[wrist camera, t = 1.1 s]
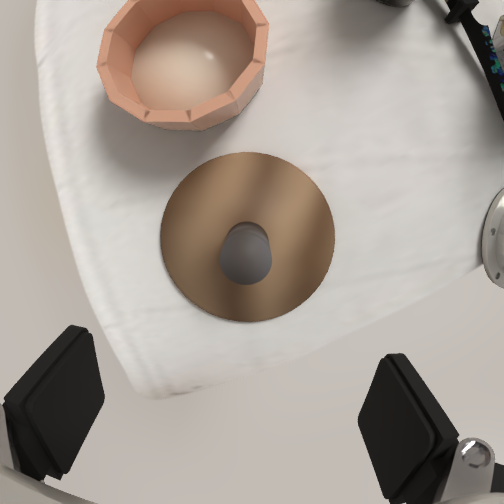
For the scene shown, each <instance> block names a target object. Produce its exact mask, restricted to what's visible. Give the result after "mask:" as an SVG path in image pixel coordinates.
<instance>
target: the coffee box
mask: <svg viewBox="0 0 504 504" xmlns="http://www.w3.org/2000/svg"><path fill="white" fill-rule="evenodd" d="M492 42H493V45H494V48H495V51H496V55H497V57H498V60H499V62H500V65H501V67H502V70H503V71H504V15H502V16H501V17H500V20H499V23H498V26H497V29H496V32H495V34H494V37H493V40H492Z"/></svg>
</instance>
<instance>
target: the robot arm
mask: <svg viewBox="0 0 504 504" xmlns="http://www.w3.org/2000/svg"><path fill="white" fill-rule="evenodd" d="M482 258H483V264H484V268H485V271H486V273H487V275H488V277H489V278H490V280H491V281H492V282H493V283H495V284H496V285H498V286H499V287H502V288H504V188H503V190H502V191H501V192H500V193H499V194H498V195H497V197H496V198H495V200H494V201H493V203H492V205H491V207H490V210H489V212H488V215H487V218H486V221H485V226H484V230H483V238H482ZM104 399H105V395H104V390H103V386H102V381H101V377H100V372H99V367H98V362H97V357H96V352H95V347H94V341H93V336H92V334H91V333H89V332H88V330H87V329H86V328H83V327H79V326H74V325H70V326H68V327H67V328H66V330H65V331H64V332H63V333H62V334H61V335H60V336H59V337H58V338H57V339H56V340H55V341H54V342H53V343H52V344H51V345H50V346H49V347H48V348H47V349H46V351H45V352H44V353H43V354H42V355H41V356H40V357H39V358H38V359H37V360H36V361H35V363H34V364H33V365H32V366H31V367H30V368H29V369H28V371H26V373H25V374H24V375H23V376H22V377H21V378H20V379H19V381H18V382H17V383H16V384H15V385H14V386H13V387H12V389H11V390H10V391H9V392H8V393H7V394H6V396H5V397H4V400H5V402H4V403H3V405H1V404H0V504H97V503H94V502H91V501H88V500H85V499H82V498H79V497H77V496H74V495H71V494H68V493H66V492H63V491H61V490H58V489H55V488H53V487H51V486H48V485H46V484H45V482H44V478H45V476H46V475H49V476H51V477H53V478H56V479H58V480H61V478H62V476H63V474H67V473H68V472H69V471H70V469H71V466H72V464H73V462H74V460H75V458H76V456H77V454H78V452H79V450H80V448H81V446H82V444H83V442H84V440H85V438H86V436H87V434H88V432H89V430H90V428H91V426H92V424H93V423H94V421H95V419H96V417H97V415H98V413H99V411H100V409H101V407H102V405H103V403H104ZM358 426H359V428H360V431H361V434H362V436H363V439H364V442H365V445H366V448H367V450H368V453H369V456H370V459H371V461H372V465H373V467H374V470H375V473H376V476H377V479H378V482H379V485H380V488H381V491H382V493H383V496H384V498H385V499H389V502H390V504H402V503H405V502H406V504H504V465H501V464H498V463H495V454H494V451H493V449H492V448H491V447H490V445H489V444H487V443H486V442H485V441H483V440H481V439H478V438H467V439H464V440H462V441H461V442H460V443H459V441H458V439H457V437H458V436H459V433H458V432H457V430H456V429H455V427H454V426H453V424H452V423H451V421H450V420H449V418H448V416H447V415H446V413H445V412H444V410H443V409H442V408H441V406H440V404H439V403H438V402H437V400H436V399H435V397H434V396H433V394H432V393H431V391H430V390H429V388H428V387H427V385H426V384H425V382H424V381H423V380H422V378H421V377H420V376H419V374H418V373H417V371H416V370H415V368H414V367H413V365H412V364H411V363H410V361H409V360H408V358H407V357H406V356H405V355H404V354H402V353H398V354H387V355H386V356H385V357H384V358H382V359H381V360H380V362H379V364H378V367H377V370H376V373H375V375H374V378H373V381H372V383H371V386H370V389H369V391H368V394H367V396H366V399H365V402H364V404H363V406H362V408H361V411H360V413H359V416H358Z"/></svg>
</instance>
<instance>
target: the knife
mask: <svg viewBox="0 0 504 504" xmlns="http://www.w3.org/2000/svg"><path fill="white" fill-rule="evenodd" d="M445 2H446V3H447V5H448V7H449V9H450V12H449V14H448V15H447V17H446V18H445V21H446V22H447V24H451V23H455V22H459V21H460V22H461V24H462V25H463V27H464V29H465V31H466V33H467V35H468V38H469V40H470V42H471V44H472V46H473V48H474V50H475V53H476V55H477V57H478V59H479V61H480V63H481V66H482V68H483V70H484V72H485V75H486V77H487V80H488V82H489V85H490V87H491V90H492V92H493V95H494V97H495V100H496V102H497V105H498V107H499V110H500V113H501V115H502V118H503V120H504V72H503V70H502V67H501V65H500V62H499V60H498V57H497V55H496V51H495V48H494V45H493V42H492V38H491V35H490V31H489V27H488V25H487V26H485V25H481V24H479V23H478V22H477V21H476V20H475V18H474V17H473V15H472V13H471V11H472V10H473V9H474V8H475V7H476V5H477V4H478V3H479V1H478V0H445Z"/></svg>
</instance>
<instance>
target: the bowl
mask: <svg viewBox="0 0 504 504" xmlns="http://www.w3.org/2000/svg"><path fill="white" fill-rule="evenodd" d="M268 30H269V23H268V21H267V19H266V18H265V16H264V15H263V13H262V11H261V10H260V8H259V7H258V5H257V3H256V2H255V0H128V1H127V2H126V3H125V5H124V6H123V7H122V8H121V9H120V11H119V12H118V13H117V14H116V15H115V17H114V18H113V19H112V20H111V22H110V23H109V24H108V25H107V27H106V28H105V29H104V33H103V37H102V42H101V46H100V51H99V56H98V61H97V66H96V67H97V70H98V73H99V75H100V78H101V80H102V83H103V85H104V88H105V90H106V93H107V95H108V97H109V100H110V101H111V102H112V103H114V104H116V105H117V106H119V107H121V108H122V109H124V110H126V111H127V112H129V113H130V114H132V115H134V116H135V117H137V118H138V119H140V120H142V121H143V122H146V123H149V124H152V125H154V126H157V127H160V128H163V129H165V130H184V131H189V130H198V131H204V130H206V129H208V128H210V127H213V126H216V125H218V124H221V123H223V122H225V121H227V120H228V119H230V118H232V117H234V116H236V115H238V114H240V113H241V111H242V110H243V109H244V107H245V106H246V105H247V104H248V103H249V102H250V101H251V99H252V98H253V96H254V95H255V93H256V92H257V91H258V89H259V88H260V87H261V85H262V84H263V76H264V68H265V59H266V49H267V39H268Z"/></svg>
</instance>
